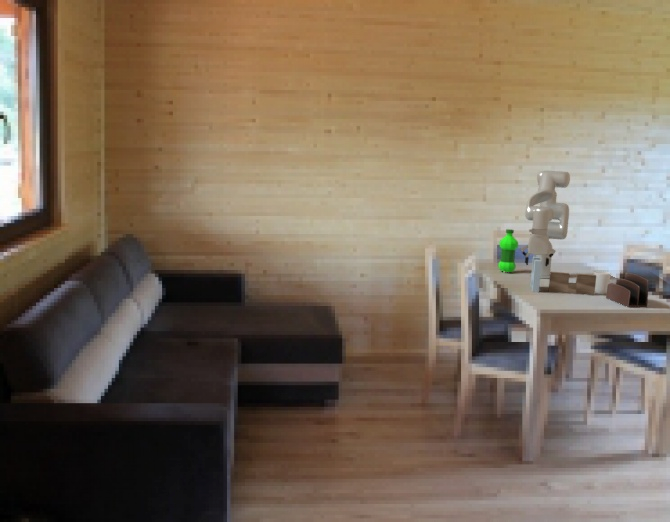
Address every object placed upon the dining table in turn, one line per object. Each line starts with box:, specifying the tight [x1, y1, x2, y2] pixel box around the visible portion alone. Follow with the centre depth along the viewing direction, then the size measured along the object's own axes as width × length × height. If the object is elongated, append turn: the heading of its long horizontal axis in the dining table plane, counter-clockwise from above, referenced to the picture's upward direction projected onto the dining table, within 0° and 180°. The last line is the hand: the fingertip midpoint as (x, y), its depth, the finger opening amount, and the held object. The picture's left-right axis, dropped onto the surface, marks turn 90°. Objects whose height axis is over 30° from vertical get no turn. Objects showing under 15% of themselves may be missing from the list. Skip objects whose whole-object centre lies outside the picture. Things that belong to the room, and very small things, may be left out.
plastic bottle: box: [498, 228, 519, 273], centre depth 408 cm, size 10×10×25 cm
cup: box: [592, 270, 611, 294], centre depth 365 cm, size 8×12×10 cm
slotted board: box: [548, 271, 596, 296], centre depth 357 cm, size 3×22×10 cm, turn 79°
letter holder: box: [605, 272, 650, 308], centre depth 339 cm, size 10×20×14 cm, turn 9°
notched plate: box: [530, 256, 541, 293], centre depth 362 cm, size 14×3×16 cm, turn 169°
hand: (536, 265), depth 361 cm, fingers open, 9 cm apart
